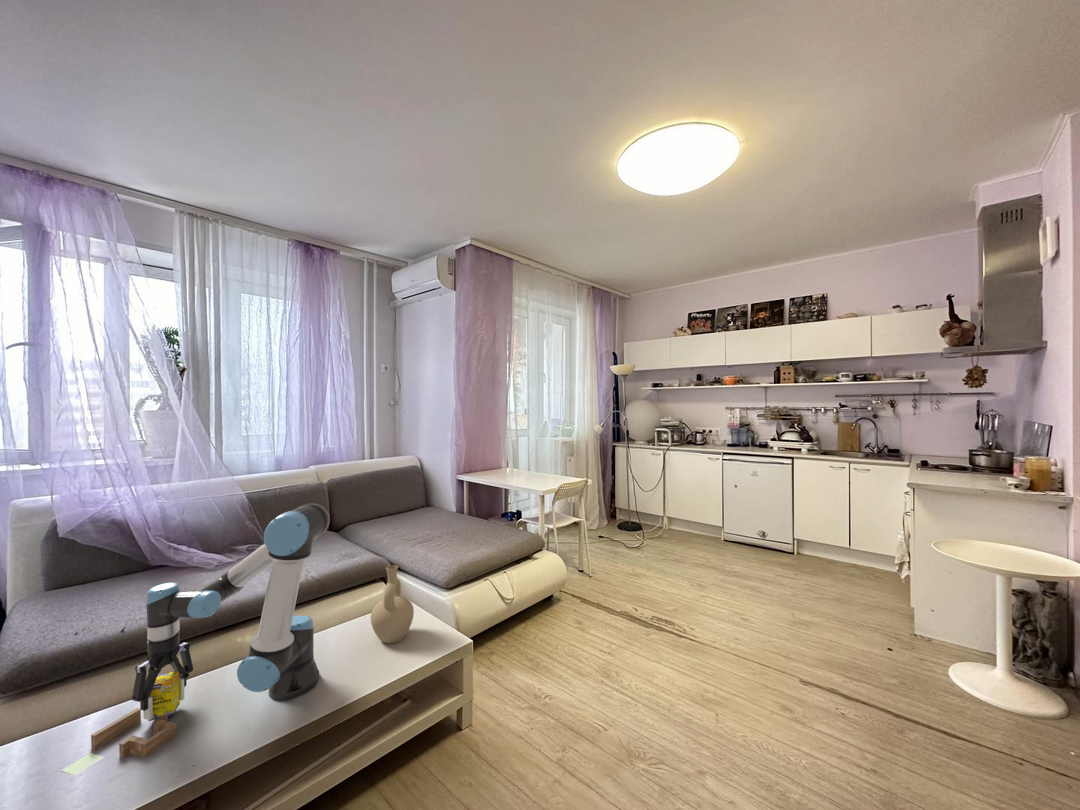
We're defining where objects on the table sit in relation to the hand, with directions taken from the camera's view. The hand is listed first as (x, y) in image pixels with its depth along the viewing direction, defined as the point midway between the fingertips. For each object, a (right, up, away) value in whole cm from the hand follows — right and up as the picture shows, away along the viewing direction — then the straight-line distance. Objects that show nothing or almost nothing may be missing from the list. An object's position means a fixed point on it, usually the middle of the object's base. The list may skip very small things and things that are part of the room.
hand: (164, 708), depth 132 cm
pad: (-5, -3, -18) cm, 19 cm away
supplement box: (0, -2, 0) cm, 2 cm away
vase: (+57, -2, +42) cm, 70 cm away
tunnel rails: (+1, -3, -9) cm, 10 cm away
